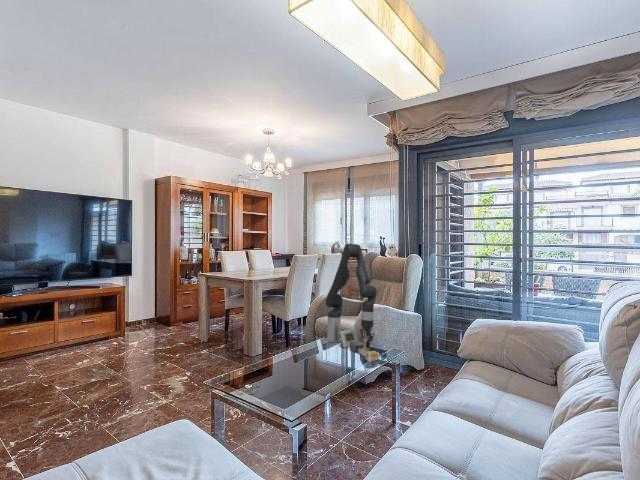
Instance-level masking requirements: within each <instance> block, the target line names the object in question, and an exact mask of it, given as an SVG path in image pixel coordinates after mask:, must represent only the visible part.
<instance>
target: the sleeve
mask: <svg viewBox="0 0 640 480" xmlns="http://www.w3.org/2000/svg"><path fill="white" fill-rule="evenodd" d="M356 346H360V347H362V348H364V343H362V342H360V341H359V342H350V347H349V351H350V352H353V353H357V352H356Z"/></svg>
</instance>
